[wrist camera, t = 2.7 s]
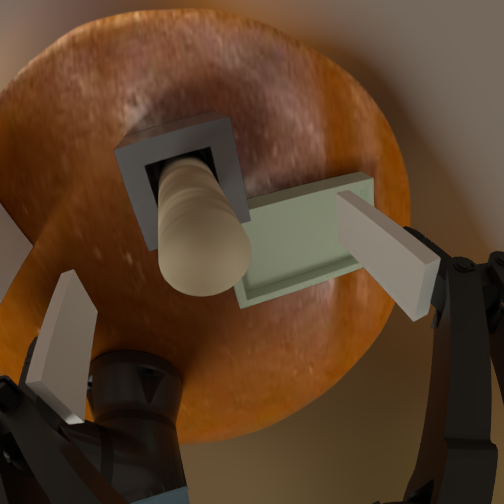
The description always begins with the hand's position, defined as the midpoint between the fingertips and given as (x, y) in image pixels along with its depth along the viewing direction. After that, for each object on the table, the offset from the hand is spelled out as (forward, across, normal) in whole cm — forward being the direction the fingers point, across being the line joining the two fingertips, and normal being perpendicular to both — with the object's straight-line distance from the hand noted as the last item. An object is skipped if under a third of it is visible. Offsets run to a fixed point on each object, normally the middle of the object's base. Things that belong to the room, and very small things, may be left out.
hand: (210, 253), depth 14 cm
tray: (+18, +10, -12) cm, 24 cm away
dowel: (+17, 0, 0) cm, 17 cm away
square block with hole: (+18, 0, 0) cm, 18 cm away
